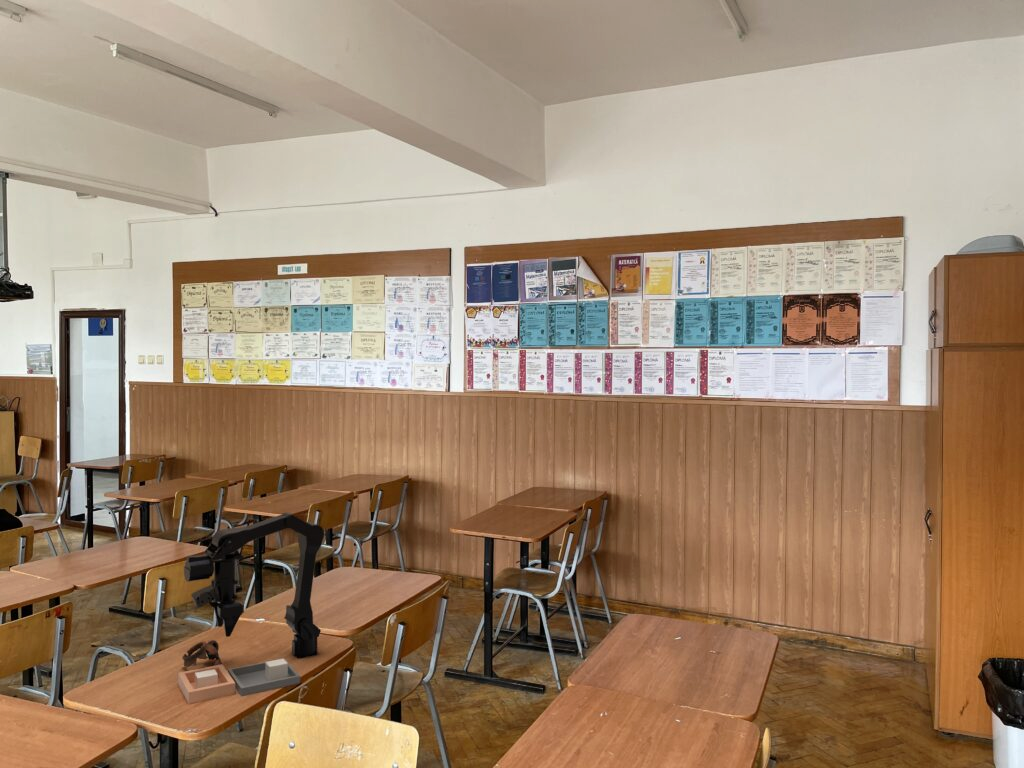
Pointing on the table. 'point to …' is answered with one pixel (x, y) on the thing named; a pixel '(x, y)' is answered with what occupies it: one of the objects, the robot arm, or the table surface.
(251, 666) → the parts tray
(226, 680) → the terracotta dish
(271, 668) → the off-white rectangular prism
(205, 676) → the cream rectangular block
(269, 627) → the table surface
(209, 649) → the brown curved piece
